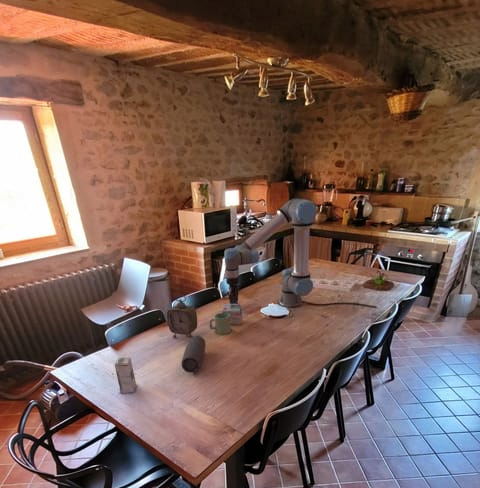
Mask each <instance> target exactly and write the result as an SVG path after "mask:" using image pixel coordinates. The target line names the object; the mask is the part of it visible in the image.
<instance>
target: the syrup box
mask: <svg viewBox="0 0 480 488" xmlns="http://www.w3.org/2000/svg"><path fill="white" fill-rule="evenodd" d="M114 369H115V374H116V377H117V383H118V386H119V391H120V393H121V394H126V393H127V394H128V393H135V390H136V387H137V382H136V377H135V373H134V372H135V371H134V366H133V362H132V357H129V356H124V357H117V358H116V361H115V363H114Z"/></svg>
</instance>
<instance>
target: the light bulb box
mask: <svg viewBox="0 0 480 488" xmlns="http://www.w3.org/2000/svg"><path fill="white" fill-rule="evenodd" d="M221 313H228V314H230V322H231V325H242V323H243V317H244V316H243V310H242V303H238V304H230V303H223V305H222V310H221Z"/></svg>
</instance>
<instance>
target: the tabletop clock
mask: <svg viewBox="0 0 480 488" xmlns="http://www.w3.org/2000/svg"><path fill="white" fill-rule="evenodd" d="M177 296H181V297H183V298H184V300H182V299H181V298H180V299H176V297H177ZM173 299H174V300H175V301H177V303H176V304H175V305H174V306H172V307H171V308H170V309H168V310H167V312H166V321H167V325H168V327H169V331H170V332H171V333H173V335H172V337H173V338H175V339H176V337H177V335H184V336H190V337H189V340H190V339H191V338H192V337H193V335H192V333H193V332H195V331H196V330H197V328H198V315H197V311H196V307H194V306H191V305H186V303H185V302H186V300H187V298H186V296H185V295H184V294H183V293H182V294H181V293H177V294H175V295H174V296H173Z"/></svg>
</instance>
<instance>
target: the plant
mask: <svg viewBox="0 0 480 488" xmlns="http://www.w3.org/2000/svg"><path fill="white" fill-rule="evenodd" d="M375 274H379V275H378V276H373V278H371V279H368V280H366V281H365V282H364V283H363V288H364V289H369V290H374V291H379V292H382V291H386V292H388V291H391V290H392V288H393V287H394V286H395V283H394V282H393V281H391V280H388V278H389V276H388V274H385V273H384V272H382V273H381V271H379V270H376V271H375Z"/></svg>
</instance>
